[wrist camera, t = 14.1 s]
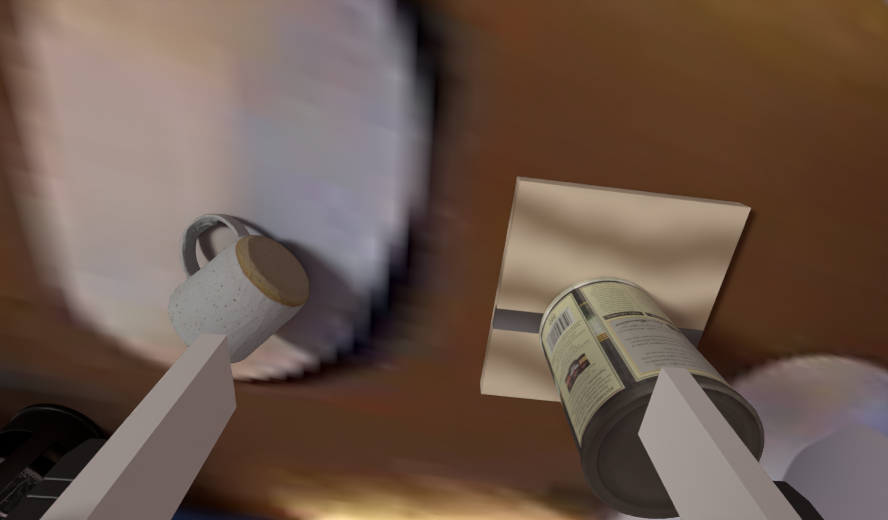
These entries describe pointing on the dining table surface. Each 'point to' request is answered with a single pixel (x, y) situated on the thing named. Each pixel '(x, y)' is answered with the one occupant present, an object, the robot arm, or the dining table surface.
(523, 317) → the plywood board
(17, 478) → the french press
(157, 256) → the dining table surface
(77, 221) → the dining table surface
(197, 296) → the ceramic mug
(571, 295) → the coffee can
